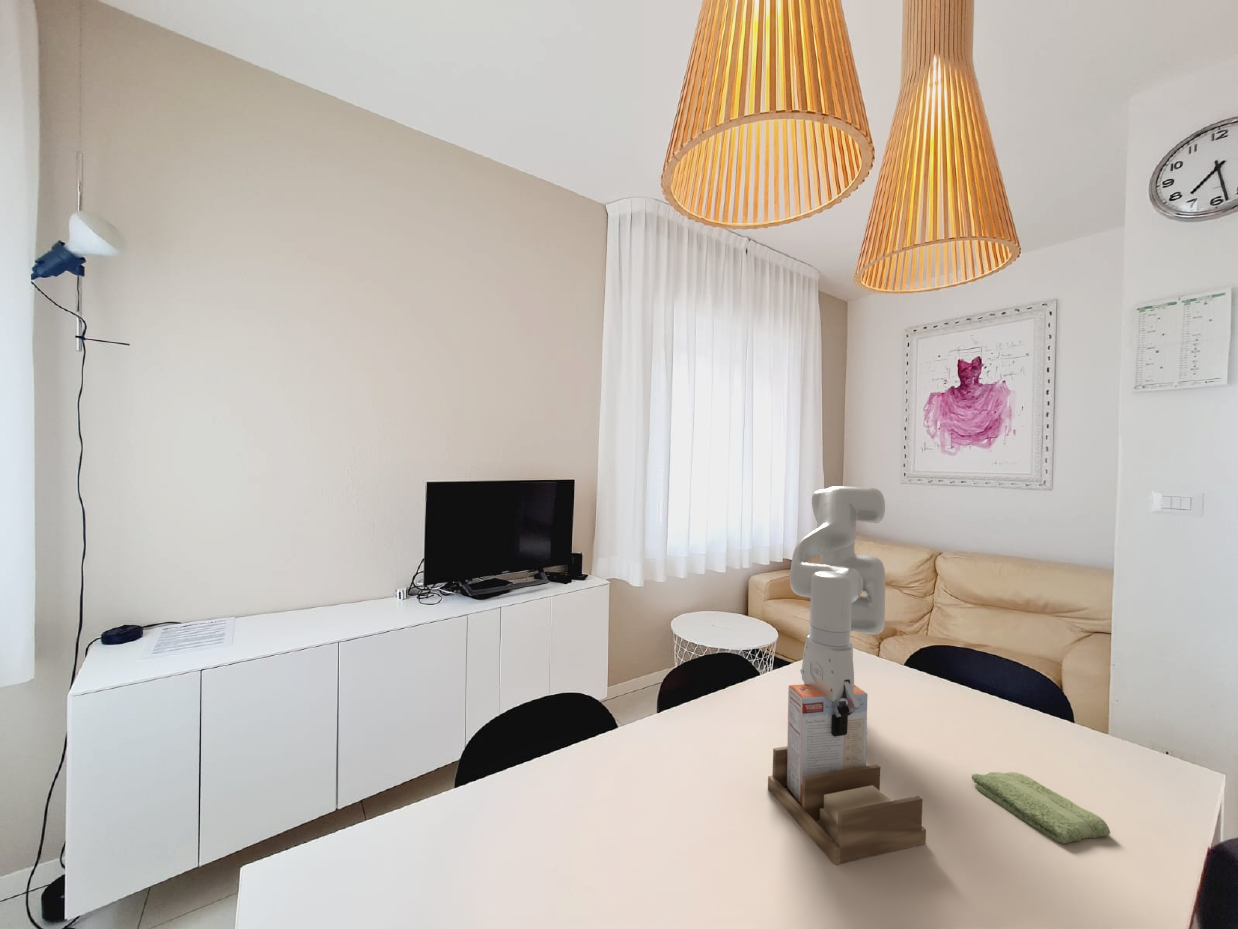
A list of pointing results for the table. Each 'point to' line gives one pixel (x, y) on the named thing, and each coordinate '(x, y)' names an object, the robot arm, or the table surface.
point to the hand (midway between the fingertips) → (826, 724)
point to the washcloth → (1041, 807)
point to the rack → (850, 813)
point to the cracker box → (821, 736)
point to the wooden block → (847, 805)
